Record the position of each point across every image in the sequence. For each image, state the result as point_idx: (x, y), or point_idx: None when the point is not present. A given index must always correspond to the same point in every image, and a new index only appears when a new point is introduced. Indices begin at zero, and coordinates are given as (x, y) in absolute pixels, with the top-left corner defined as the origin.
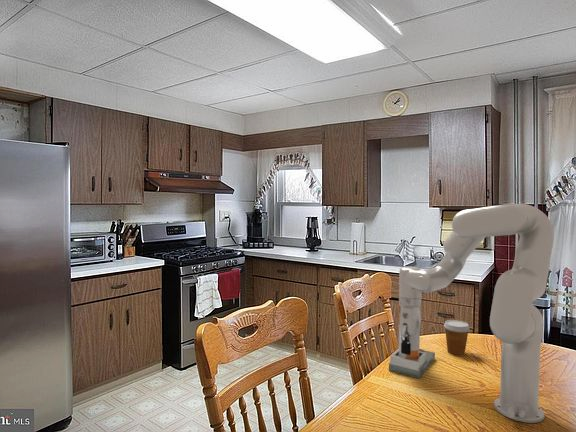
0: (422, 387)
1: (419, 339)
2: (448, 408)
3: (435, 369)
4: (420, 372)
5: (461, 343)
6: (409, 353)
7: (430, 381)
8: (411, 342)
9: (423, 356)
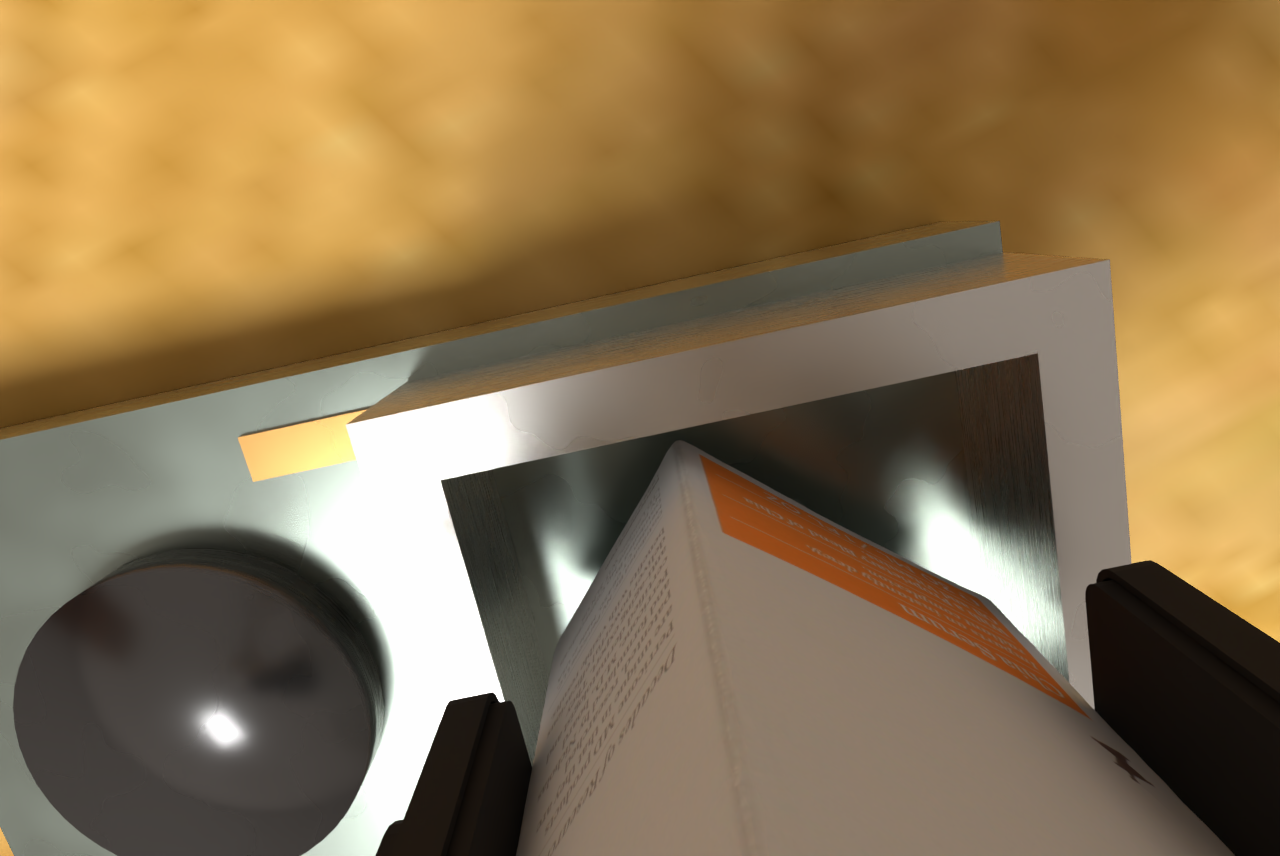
0: (1254, 9)
1: (742, 739)
2: None
3: (370, 206)
4: (952, 228)
5: None
6: (1166, 588)
7: (926, 22)
8: (1102, 844)
9: (644, 364)
